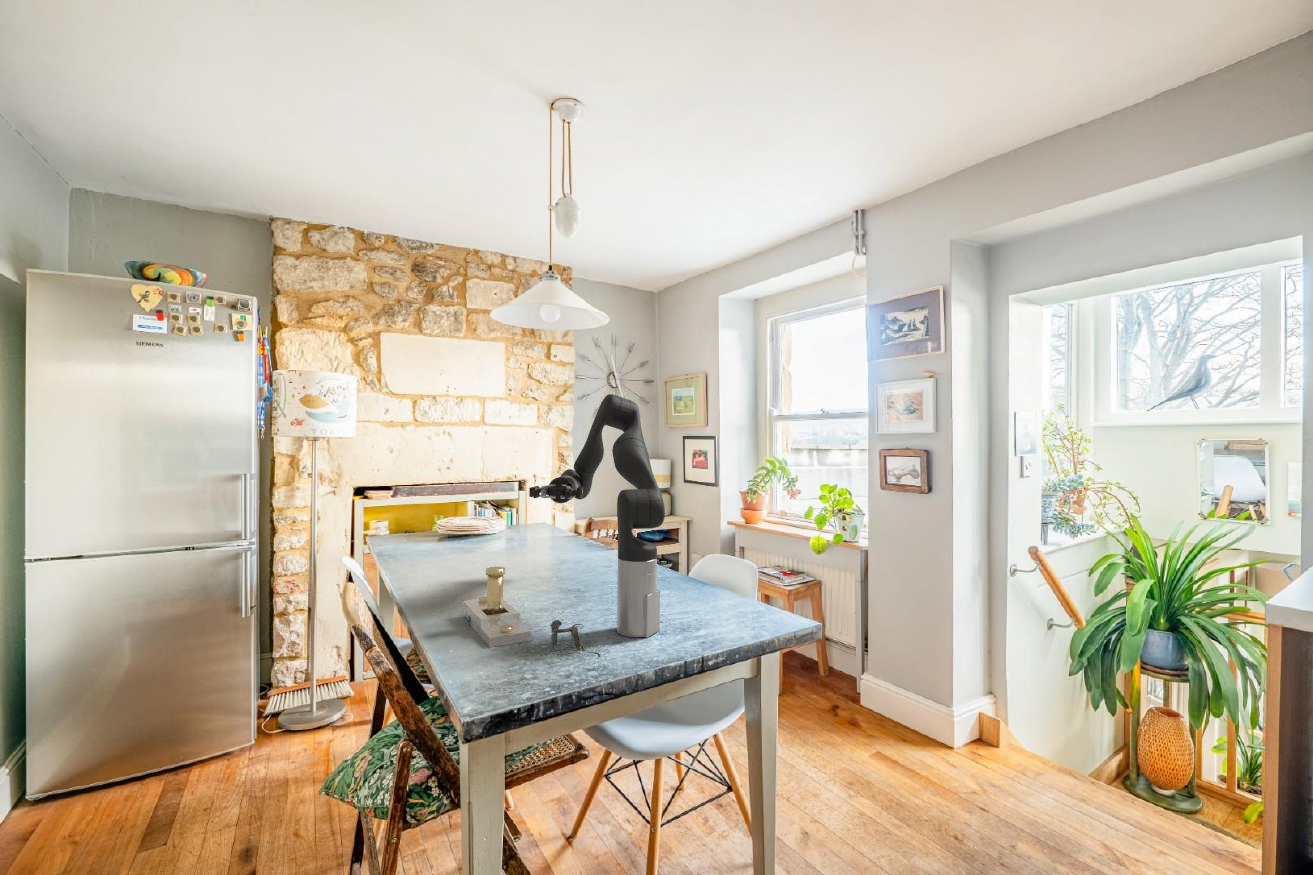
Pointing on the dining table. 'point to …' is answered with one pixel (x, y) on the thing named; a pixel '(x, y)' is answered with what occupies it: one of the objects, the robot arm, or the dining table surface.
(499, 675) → the dining table surface
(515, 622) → the gray block
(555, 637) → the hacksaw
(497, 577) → the pin
